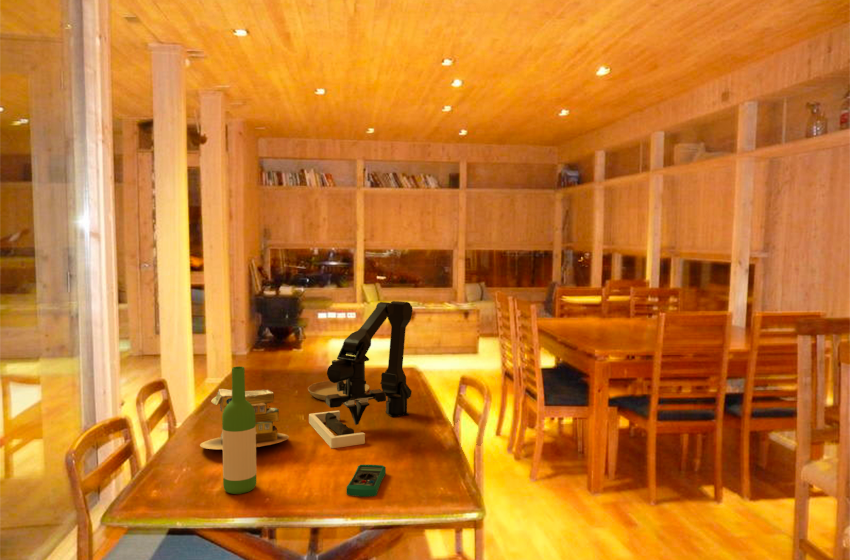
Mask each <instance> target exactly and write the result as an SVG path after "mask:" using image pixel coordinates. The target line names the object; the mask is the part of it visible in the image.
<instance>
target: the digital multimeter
mask: <svg viewBox="0 0 850 560" xmlns="http://www.w3.org/2000/svg"><path fill="white" fill-rule="evenodd" d="M386 471H387V469H386V466H384V465H383V464H382V465H381V464H359V465H358V466H357V467H356V471H355V473H354V474H353V477H352V478H351V480H350V481H349V483H348V484H347V485H346V496H354V497H368V498H369V497H376V496H377V495H378V492H379V488H380V486H381V484H382V482H383V479H384V477H385V476H386V474H387V472H386Z"/></svg>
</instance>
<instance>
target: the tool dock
mask: <svg viewBox="0 0 850 560" xmlns="http://www.w3.org/2000/svg"><path fill="white" fill-rule="evenodd" d="M328 412H330V413H333V414H334V415H335V416H336V419H338V420H339V421H340V420H341V411H340V410H331V411H324V412H323V411H321V412H315V413H314V412H313V413H308V423H309V425H311V428H313V429H314V430H315V432H316V433H317V434H318V435H319V436H320V437H321V438H322V440H323V441H324V442H325V443H326V444H327V445H328V446H329V448H330V449H336V448H344V447H350V446H357V445H364V444H365V443H366V440H365V438H366V437H365V436H366V433H364V432H354V434H347V435H334V433H333V432H331V429H329V428H328V427H327V425H326V424H324V423H326V419H325V416H326V413H328Z"/></svg>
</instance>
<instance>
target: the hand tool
mask: <svg viewBox="0 0 850 560" xmlns="http://www.w3.org/2000/svg"><path fill="white" fill-rule="evenodd" d="M327 412H328V413H326V416H325V419H326V422H325V426H326V427H327V428H328V429H329V430H332V431H333V432H335V433H336V434H337V436H340V435H347V434H355V429H354V428H351V427H348V425H347V424H344V423H343V422H342V421H340V420H338V419H336V416H335V415H334V414H333V413H330V411H327Z"/></svg>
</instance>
